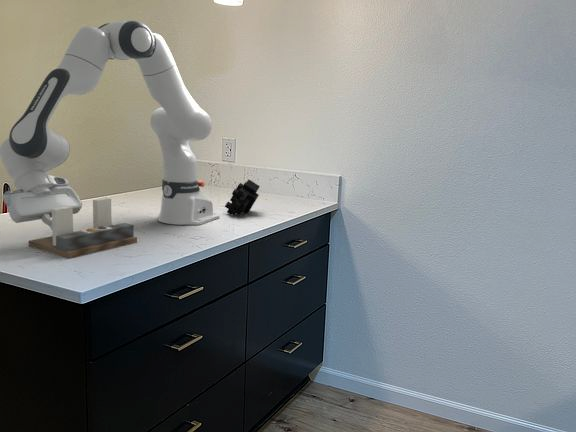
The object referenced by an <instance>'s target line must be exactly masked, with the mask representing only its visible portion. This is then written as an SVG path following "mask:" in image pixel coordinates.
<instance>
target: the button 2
mask: <svg viewBox="0 0 576 432" xmlns="http://www.w3.org/2000/svg"><path fill="white" fill-rule="evenodd" d="M92 219H93V220H92V221H93V222H92V225H93V226H92V228H98V227H102V226H111V225H113V224H112V198H109V197H103V198H95V199H92Z"/></svg>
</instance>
